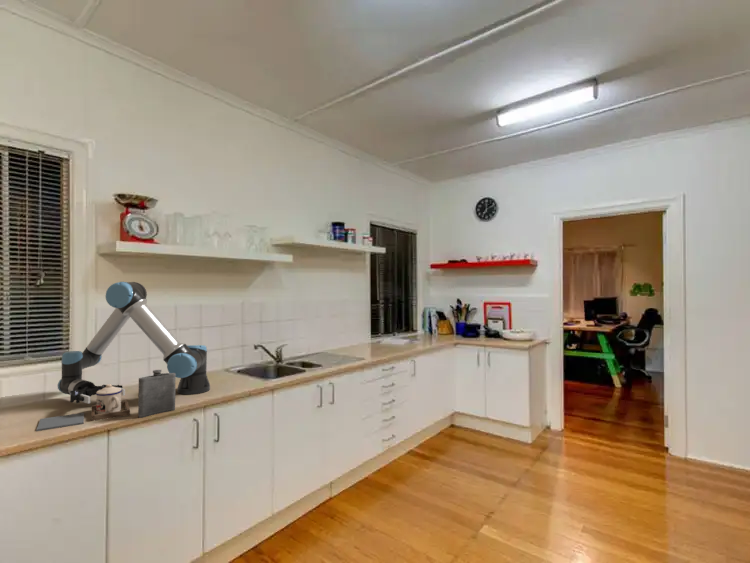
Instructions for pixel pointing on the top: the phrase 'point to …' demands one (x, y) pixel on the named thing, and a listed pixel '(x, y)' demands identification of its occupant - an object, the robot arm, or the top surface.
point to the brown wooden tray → (112, 414)
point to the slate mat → (60, 421)
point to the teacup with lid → (108, 399)
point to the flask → (156, 394)
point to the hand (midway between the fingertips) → (107, 396)
